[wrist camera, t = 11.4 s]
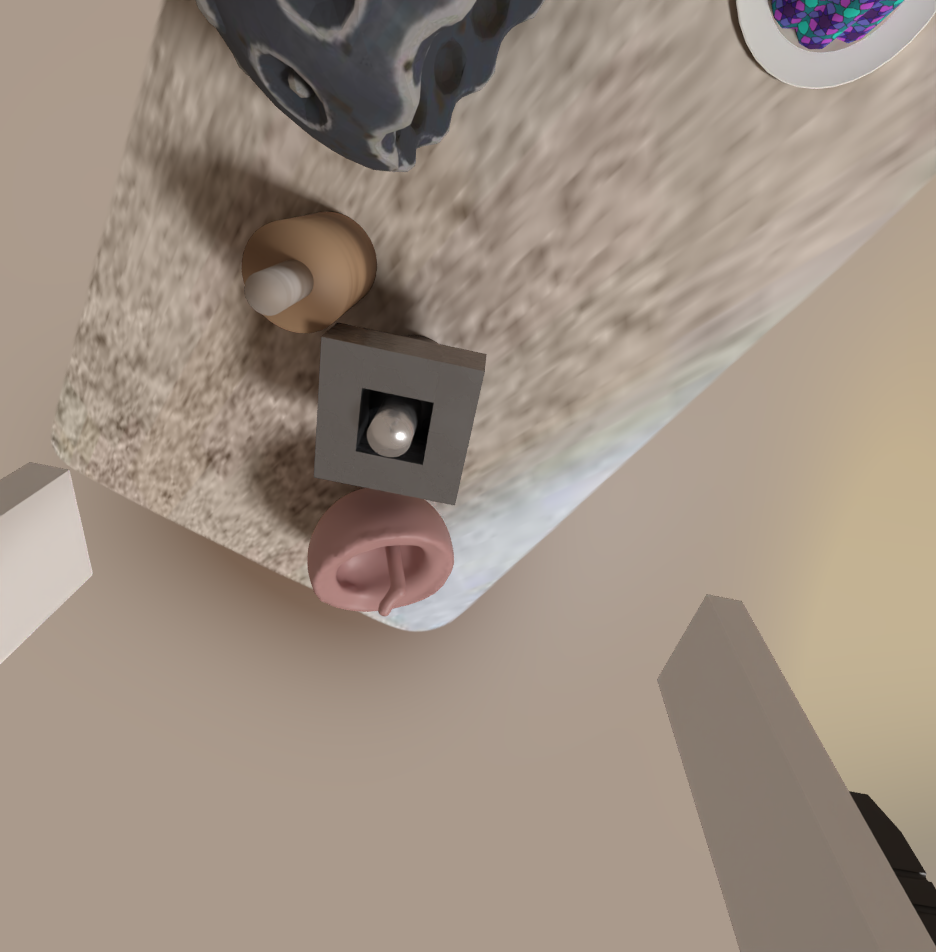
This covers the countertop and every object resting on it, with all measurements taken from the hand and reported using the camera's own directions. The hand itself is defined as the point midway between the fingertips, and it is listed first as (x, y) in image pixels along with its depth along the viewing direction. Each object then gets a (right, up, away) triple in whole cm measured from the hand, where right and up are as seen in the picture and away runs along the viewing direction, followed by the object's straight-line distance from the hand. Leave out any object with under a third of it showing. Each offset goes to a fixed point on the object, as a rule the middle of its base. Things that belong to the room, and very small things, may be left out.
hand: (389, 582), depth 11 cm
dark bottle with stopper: (-3, +10, +31) cm, 33 cm away
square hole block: (-3, +7, +26) cm, 27 cm away
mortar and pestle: (-5, -1, +38) cm, 38 cm away
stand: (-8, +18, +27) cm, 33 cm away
